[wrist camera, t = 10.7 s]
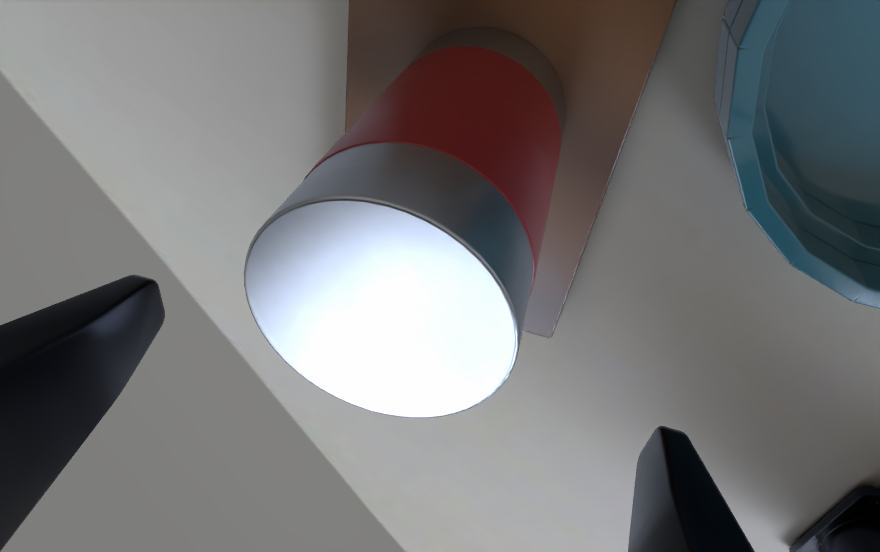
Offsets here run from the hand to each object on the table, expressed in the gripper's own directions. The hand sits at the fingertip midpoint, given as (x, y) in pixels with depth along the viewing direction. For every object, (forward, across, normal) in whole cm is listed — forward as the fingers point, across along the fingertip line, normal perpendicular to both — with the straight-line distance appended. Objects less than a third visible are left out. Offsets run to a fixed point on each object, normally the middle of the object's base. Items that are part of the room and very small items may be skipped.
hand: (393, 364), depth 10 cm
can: (+11, +1, 0) cm, 11 cm away
